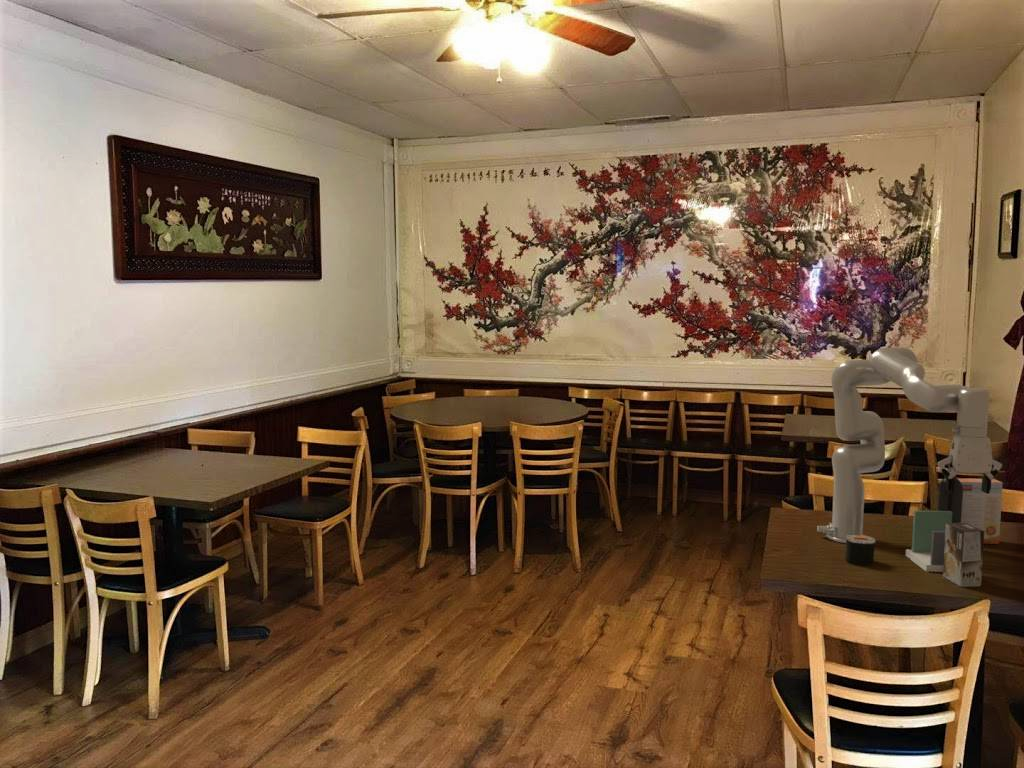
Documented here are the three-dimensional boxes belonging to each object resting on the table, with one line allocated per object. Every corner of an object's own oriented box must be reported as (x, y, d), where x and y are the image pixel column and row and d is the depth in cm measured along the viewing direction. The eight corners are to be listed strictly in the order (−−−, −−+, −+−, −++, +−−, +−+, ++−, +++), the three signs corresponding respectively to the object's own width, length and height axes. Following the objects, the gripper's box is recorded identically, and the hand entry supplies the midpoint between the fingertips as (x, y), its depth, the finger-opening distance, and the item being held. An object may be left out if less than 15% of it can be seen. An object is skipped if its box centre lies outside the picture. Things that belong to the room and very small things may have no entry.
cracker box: (990, 539, 282) (995, 478, 279) (999, 545, 276) (1004, 482, 273) (947, 538, 283) (951, 477, 281) (954, 543, 277) (958, 481, 275)
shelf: (926, 571, 249) (929, 522, 248) (905, 555, 264) (908, 508, 263) (971, 572, 249) (974, 522, 247) (948, 556, 264) (951, 509, 262)
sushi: (875, 567, 253) (876, 541, 252) (845, 564, 256) (847, 538, 255) (873, 559, 261) (874, 534, 260) (844, 556, 263) (845, 531, 262)
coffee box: (982, 586, 237) (986, 531, 235) (960, 587, 236) (964, 531, 234) (962, 575, 246) (965, 522, 244) (941, 576, 245) (944, 522, 244)
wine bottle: (946, 542, 278) (952, 453, 274) (961, 547, 272) (967, 456, 269) (933, 544, 276) (938, 454, 273) (947, 549, 271) (953, 457, 267)
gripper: (945, 434, 233) (942, 494, 235) (1010, 434, 232) (1006, 495, 234) (933, 429, 240) (930, 488, 242) (996, 430, 239) (992, 489, 241)
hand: (967, 492), depth 238 cm, fingers open, 9 cm apart
